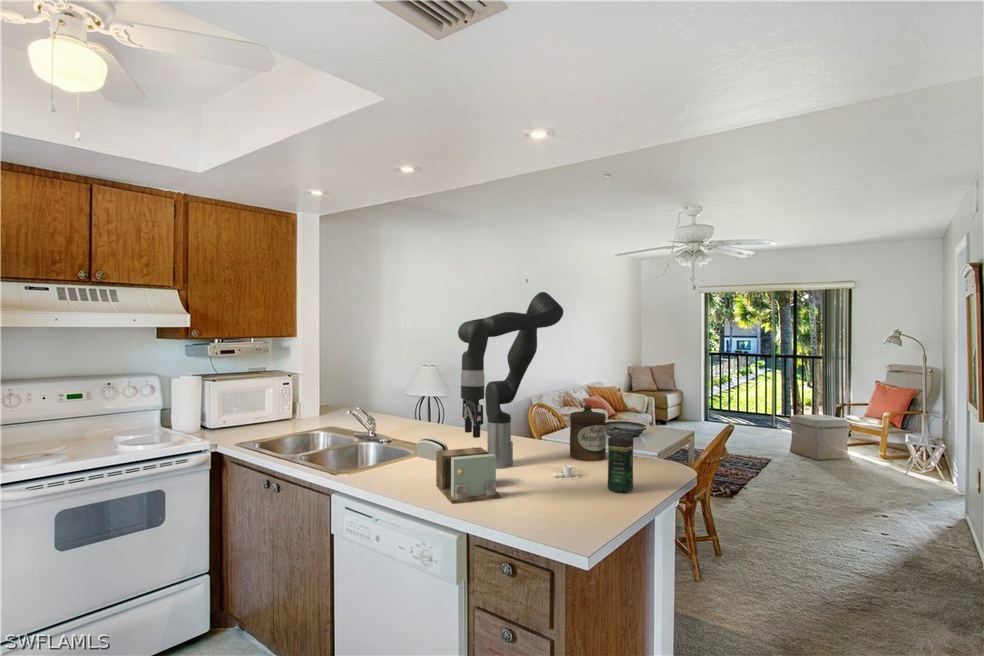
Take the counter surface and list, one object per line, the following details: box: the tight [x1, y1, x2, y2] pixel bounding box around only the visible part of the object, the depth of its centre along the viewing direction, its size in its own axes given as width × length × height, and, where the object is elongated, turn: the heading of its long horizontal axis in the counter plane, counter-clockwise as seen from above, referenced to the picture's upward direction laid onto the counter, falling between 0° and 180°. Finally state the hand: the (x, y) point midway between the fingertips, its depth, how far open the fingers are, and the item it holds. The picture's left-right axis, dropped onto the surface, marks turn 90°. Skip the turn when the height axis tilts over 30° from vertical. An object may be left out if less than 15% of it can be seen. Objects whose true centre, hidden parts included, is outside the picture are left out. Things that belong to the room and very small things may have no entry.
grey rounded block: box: [415, 437, 449, 462], centre depth 215 cm, size 17×5×10 cm, turn 50°
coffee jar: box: [607, 432, 634, 494], centre depth 175 cm, size 10×8×19 cm
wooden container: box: [569, 404, 607, 462], centre depth 220 cm, size 15×15×22 cm
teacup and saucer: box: [553, 464, 580, 481], centre depth 190 cm, size 9×8×4 cm
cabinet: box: [435, 446, 502, 504], centre depth 172 cm, size 16×20×12 cm
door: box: [451, 454, 497, 498], centre depth 165 cm, size 14×4×12 cm, turn 110°
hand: (472, 434), depth 166 cm, fingers open, 8 cm apart
